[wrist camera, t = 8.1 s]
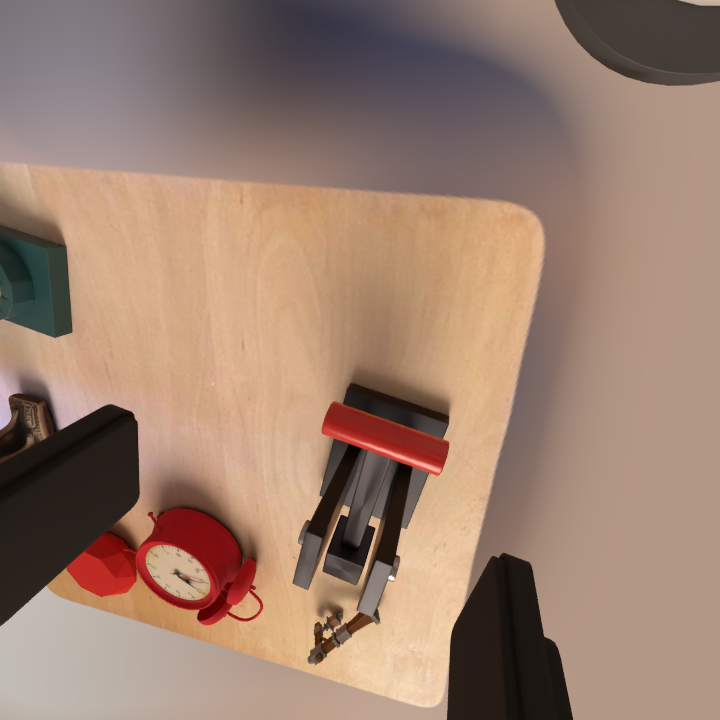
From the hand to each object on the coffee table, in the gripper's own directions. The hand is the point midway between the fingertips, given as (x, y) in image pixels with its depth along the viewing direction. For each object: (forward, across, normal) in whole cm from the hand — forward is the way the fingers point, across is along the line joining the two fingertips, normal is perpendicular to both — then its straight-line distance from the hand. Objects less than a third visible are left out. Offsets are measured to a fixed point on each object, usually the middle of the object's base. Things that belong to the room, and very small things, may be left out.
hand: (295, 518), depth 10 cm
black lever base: (+20, -1, +12) cm, 23 cm away
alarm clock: (+19, +13, +32) cm, 40 cm away
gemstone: (+19, +26, +39) cm, 51 cm away
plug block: (+19, +34, +7) cm, 40 cm away
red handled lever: (+9, -1, +7) cm, 11 cm away
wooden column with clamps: (+19, -3, +32) cm, 38 cm away
